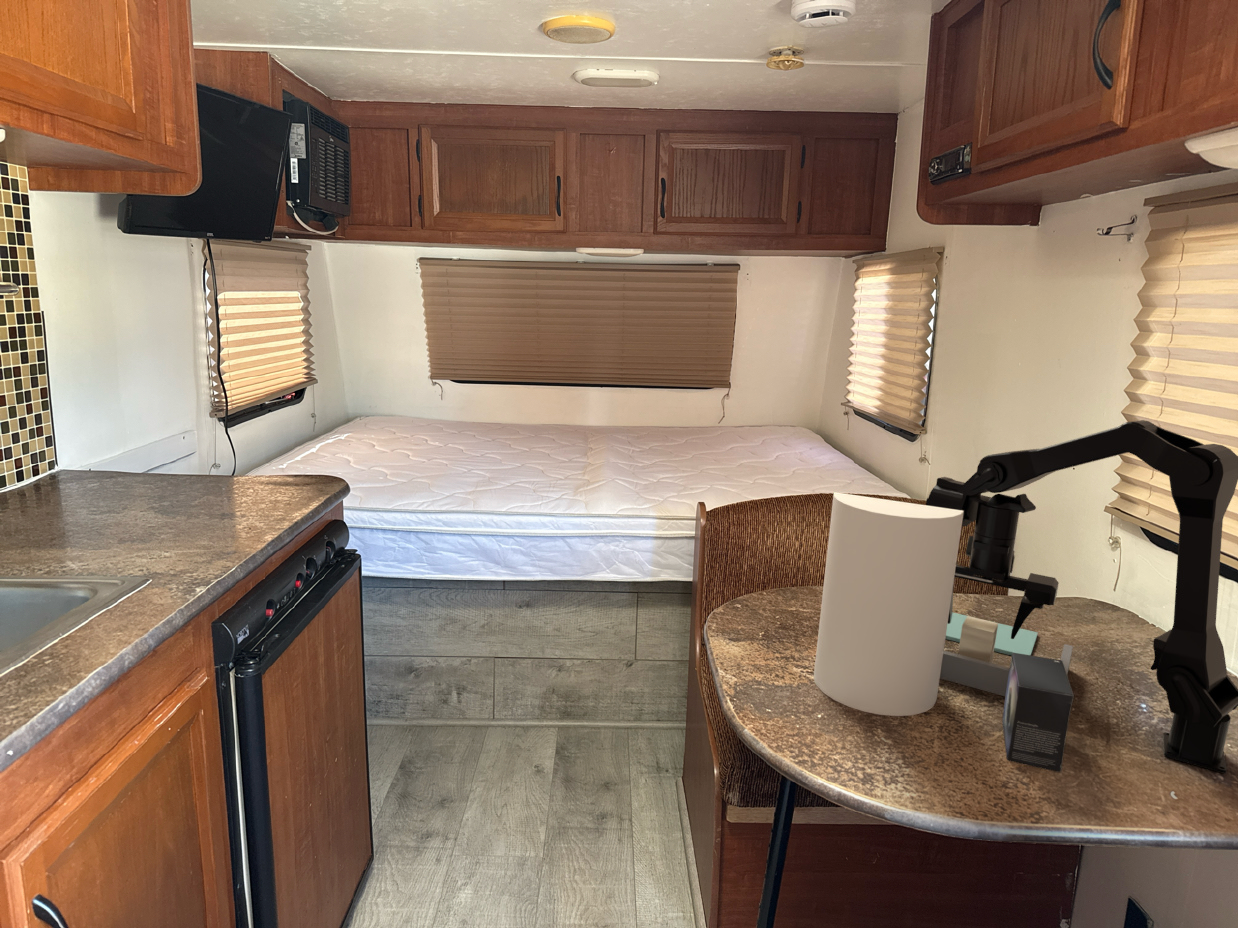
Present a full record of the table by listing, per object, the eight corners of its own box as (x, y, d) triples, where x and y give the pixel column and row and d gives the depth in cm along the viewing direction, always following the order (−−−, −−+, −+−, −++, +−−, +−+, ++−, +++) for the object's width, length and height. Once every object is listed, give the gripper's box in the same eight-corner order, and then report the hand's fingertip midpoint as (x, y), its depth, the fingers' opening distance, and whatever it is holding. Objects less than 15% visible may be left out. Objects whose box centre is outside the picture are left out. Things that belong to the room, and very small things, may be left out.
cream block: (987, 675, 123) (993, 632, 122) (956, 666, 126) (962, 624, 124) (991, 664, 127) (998, 623, 126) (961, 656, 129) (967, 616, 128)
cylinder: (931, 728, 107) (961, 525, 101) (802, 695, 114) (822, 504, 108) (940, 675, 122) (966, 497, 116) (825, 650, 129) (844, 480, 123)
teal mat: (1029, 659, 129) (1029, 656, 129) (938, 636, 137) (938, 633, 137) (1037, 635, 139) (1037, 632, 139) (952, 615, 147) (952, 612, 146)
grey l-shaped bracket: (1059, 711, 113) (1064, 685, 112) (879, 661, 126) (882, 637, 125) (1068, 669, 127) (1072, 645, 126) (904, 627, 140) (907, 606, 139)
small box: (998, 720, 110) (1009, 649, 108) (1051, 732, 107) (1064, 659, 105) (1003, 760, 100) (1016, 683, 98) (1062, 773, 98) (1077, 694, 96)
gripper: (1068, 534, 124) (1052, 629, 127) (941, 512, 133) (929, 600, 137) (1062, 551, 114) (1045, 653, 118) (926, 526, 124) (913, 621, 127)
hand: (980, 630), depth 125 cm, fingers open, 9 cm apart
